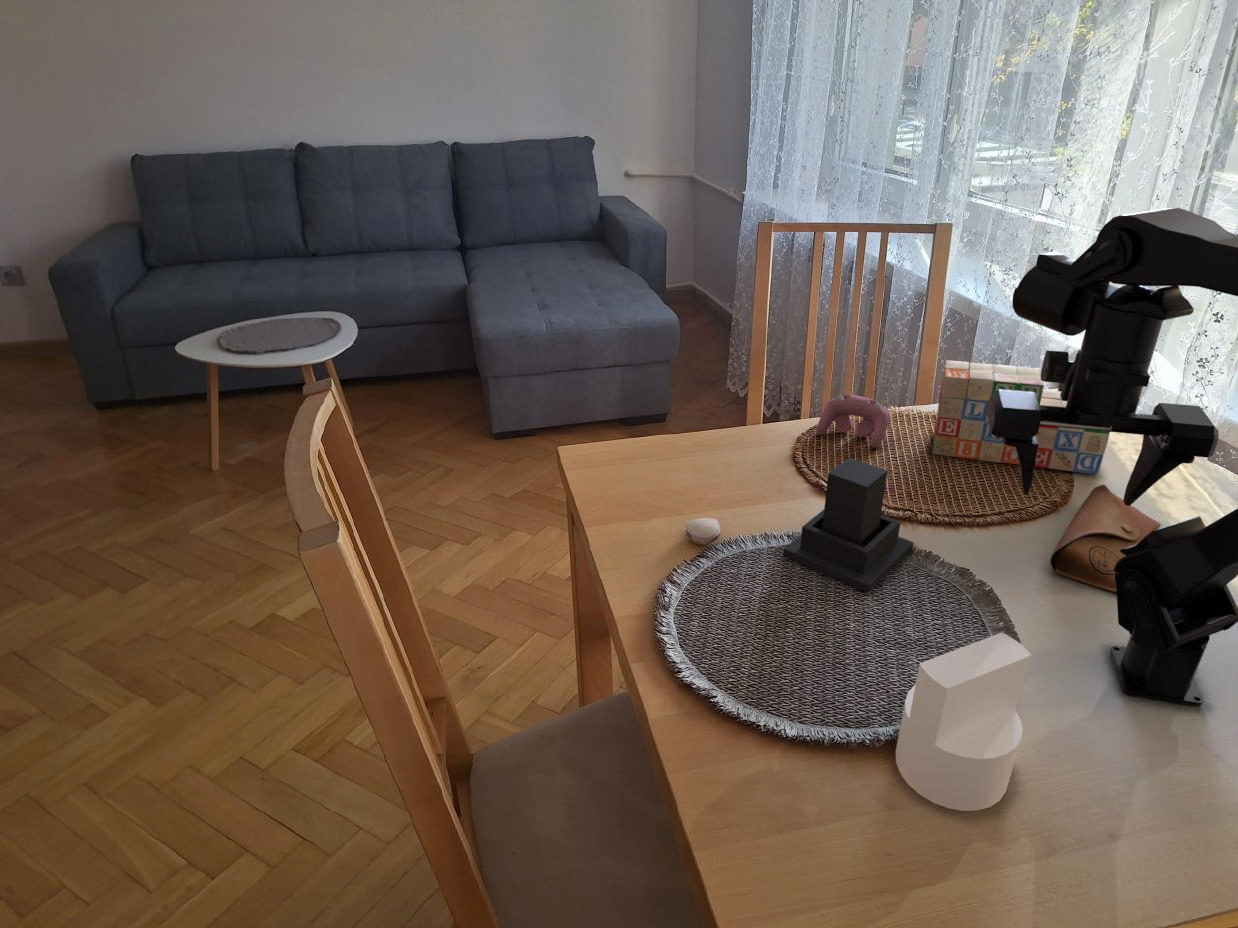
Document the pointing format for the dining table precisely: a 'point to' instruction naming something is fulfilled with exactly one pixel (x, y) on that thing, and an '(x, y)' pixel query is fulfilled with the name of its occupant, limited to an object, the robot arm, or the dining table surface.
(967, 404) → the stack of blocks
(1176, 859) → the dining table surface
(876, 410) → the video game controller
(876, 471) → the black pad block
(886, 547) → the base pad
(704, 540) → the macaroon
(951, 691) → the cylinder with rectangular tab
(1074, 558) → the sunglasses case
